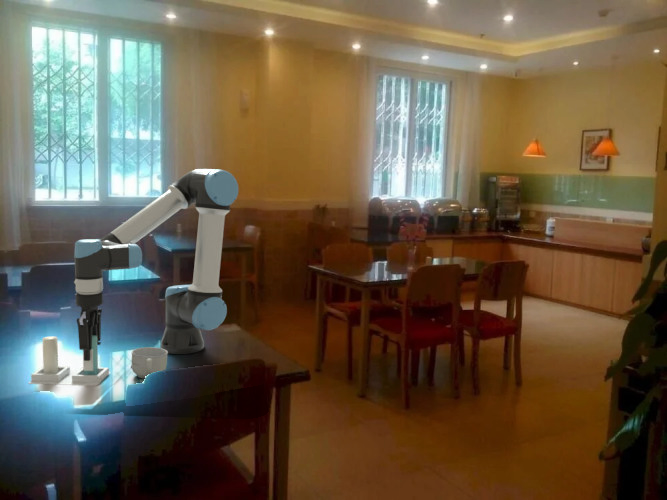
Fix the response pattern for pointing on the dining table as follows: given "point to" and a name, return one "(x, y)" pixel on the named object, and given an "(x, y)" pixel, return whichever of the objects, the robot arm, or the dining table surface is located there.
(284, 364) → the dining table surface
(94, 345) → the teal peg
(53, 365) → the peg seated
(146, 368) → the teacup
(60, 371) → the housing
